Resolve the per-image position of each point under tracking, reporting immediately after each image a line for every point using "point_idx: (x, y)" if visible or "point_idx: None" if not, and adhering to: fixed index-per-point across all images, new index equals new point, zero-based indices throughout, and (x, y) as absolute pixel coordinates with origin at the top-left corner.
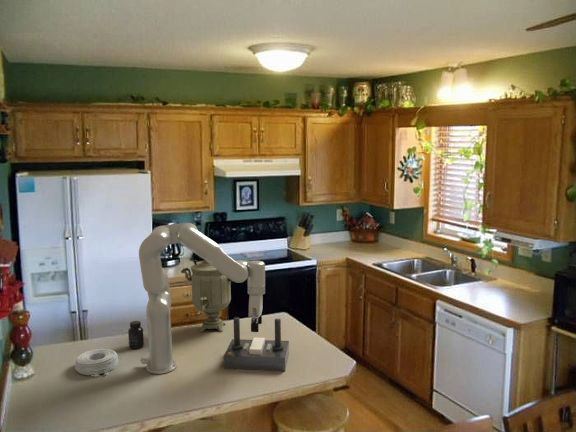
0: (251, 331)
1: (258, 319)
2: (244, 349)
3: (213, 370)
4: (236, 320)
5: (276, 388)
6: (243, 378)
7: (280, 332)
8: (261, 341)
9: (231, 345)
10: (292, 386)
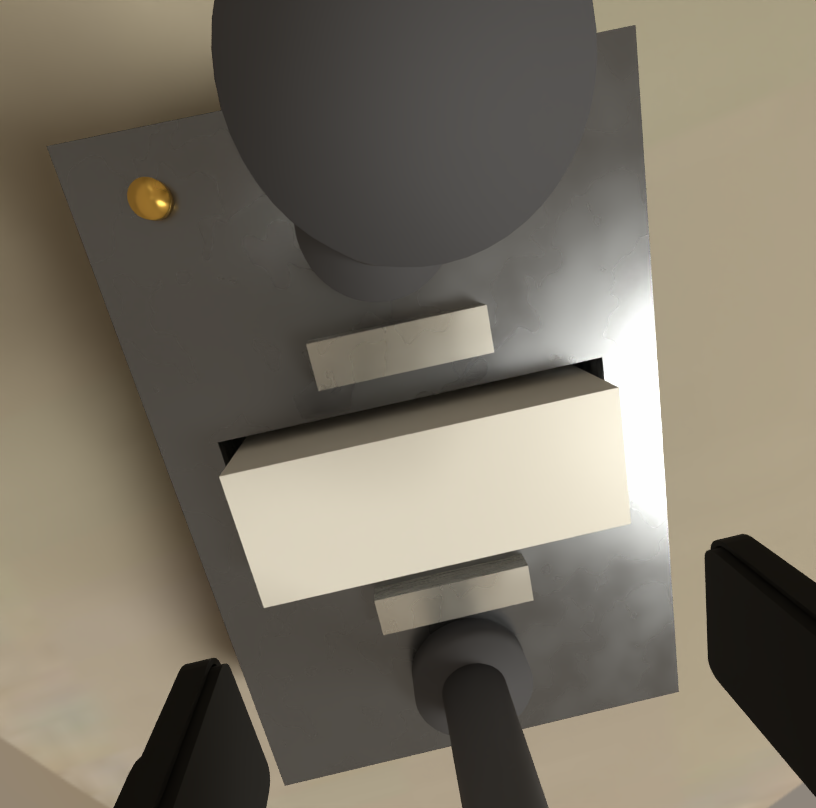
0: (185, 676)
1: (792, 712)
2: (312, 359)
3: (54, 72)
4: (253, 153)
5: (11, 714)
6: (39, 438)
7: None
8: (506, 525)
9: None
10: (93, 787)
